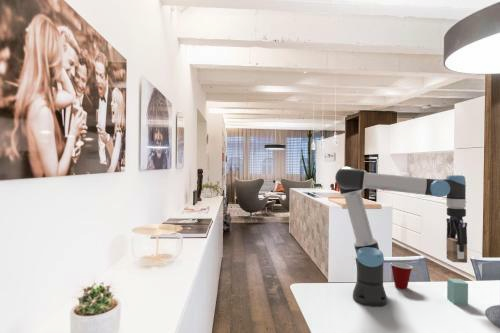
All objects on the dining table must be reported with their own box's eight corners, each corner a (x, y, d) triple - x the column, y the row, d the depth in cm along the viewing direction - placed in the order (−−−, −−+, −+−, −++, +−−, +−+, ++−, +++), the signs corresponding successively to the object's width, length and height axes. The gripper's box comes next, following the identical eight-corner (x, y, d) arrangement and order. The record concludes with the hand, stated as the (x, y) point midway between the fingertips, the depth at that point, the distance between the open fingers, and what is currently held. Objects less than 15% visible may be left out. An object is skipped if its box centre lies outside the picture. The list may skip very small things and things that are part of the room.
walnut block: (453, 262, 141) (452, 240, 141) (446, 258, 147) (446, 237, 147) (467, 262, 140) (466, 241, 140) (460, 259, 146) (459, 238, 146)
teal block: (453, 304, 141) (454, 282, 141) (447, 299, 147) (447, 278, 147) (467, 305, 140) (468, 283, 140) (460, 300, 146) (460, 279, 146)
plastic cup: (416, 288, 159) (417, 265, 160) (405, 292, 153) (406, 268, 153) (396, 281, 168) (397, 260, 169) (385, 285, 162) (386, 263, 162)
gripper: (476, 210, 134) (477, 262, 134) (454, 205, 153) (454, 251, 152) (458, 209, 135) (458, 262, 135) (438, 205, 154) (438, 251, 153)
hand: (456, 256), depth 143 cm, fingers closed on walnut block, 6 cm apart
